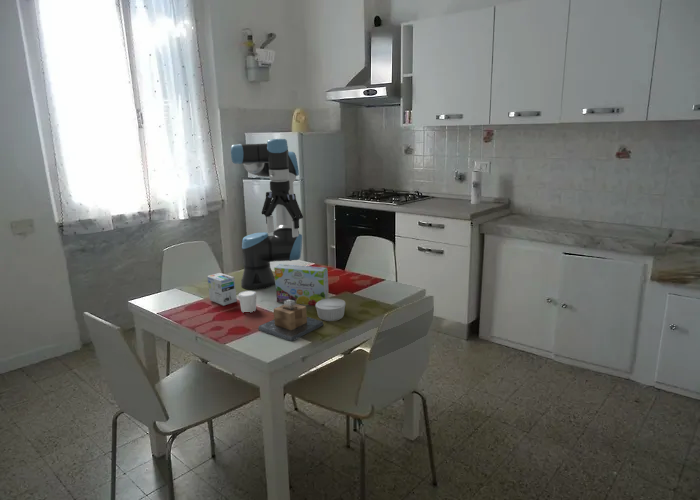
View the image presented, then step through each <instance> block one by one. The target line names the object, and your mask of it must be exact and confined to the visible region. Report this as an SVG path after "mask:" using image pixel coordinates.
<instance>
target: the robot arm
mask: <svg viewBox="0 0 700 500" xmlns="http://www.w3.org/2000/svg"><path fill="white" fill-rule="evenodd" d="M230 156H231V162H232V163H233V164H235V165H238V164H239V165H243V168H244V169H245V171H247V172H248V173H249V174H252V175H254V176H258V177H262V178H263V177H264V178H265V177H266V178H269V180H270V181H269V189H270V191H266V192H265V199H264V203H263V206H262V210H261V215H264V217H265V220H266V221H265V223H266V226H267V231H266V232H255V233H251V234H248V235H245V236H244V237H243V238H242V241H241V249H242V259H243V260H242V262H243V273H242V278H241V282H240V284H241V287H242V288H243V289H247V290H265V289H267V288H271V287H273V286H274V285H276V283H275V274H273V271H272V268H271V262H292V261H298V260H300V259H301V257H302V249H303V248H302V247H303V234H301V233H300V232H299V229H300V220H301V219H303V218H304V215H303V213H302V210H301V208H300V206H299V204H298V201H297V196H296V193H294V182H295V181H296V179H297V177H298V176H299V175H300V171H299V170H300V169H299V165H298V159H297V155H296V153H295V152H294V151H289V146H288V140H287V139H285V138H271V139H270V138H269V139H268V140H267V143H245V144H244V143H238V144H232V145H231V147H230ZM274 211H275V223H276V226H275V227H276V228H274V216H273V212H274ZM271 233H272V234H273V235H269V234H271Z"/></svg>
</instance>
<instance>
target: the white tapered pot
mask: <svg viewBox="0 0 700 500" xmlns="http://www.w3.org/2000/svg"><path fill="white" fill-rule="evenodd" d="M237 296H238V299H239V304H240V310H241V312H242V313H244V312H250V313H254V312H256V311H257V291H254V290H244V291H241V292H239V293H238V295H237ZM253 311H254V312H253Z"/></svg>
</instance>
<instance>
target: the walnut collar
mask: <svg viewBox="0 0 700 500" xmlns="http://www.w3.org/2000/svg"><path fill="white" fill-rule="evenodd" d="M307 317H308V315H307V305H302V304H296V309H294V310H291V311H290V310H287V309H284V304H282V305H279V306H278V307H276V308H273V320H274V321H275V325H276V326H280V327H283V328H286V329H289V330H293V329H295V328H297V327H299V326H301V325H303V324H305V323H307Z"/></svg>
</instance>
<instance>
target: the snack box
mask: <svg viewBox="0 0 700 500" xmlns="http://www.w3.org/2000/svg"><path fill="white" fill-rule="evenodd" d="M273 268H274V277H275V294H276V302H277V303H284V301H286V300H288V299H290V300H294V301H295V303H296V304H298V305H302V306H314V307H316V306H315V305H316V303H317V302H318V301H320V300H323V299H329V298H330V297H329V295H330V294H329V276H328V275H329V273H328V272H329V271H328V267H322V266H308V265H297V264H296V265H295V264H284V263H283V264H282V263H279V264H278V265H276V266H274V267H273Z"/></svg>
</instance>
